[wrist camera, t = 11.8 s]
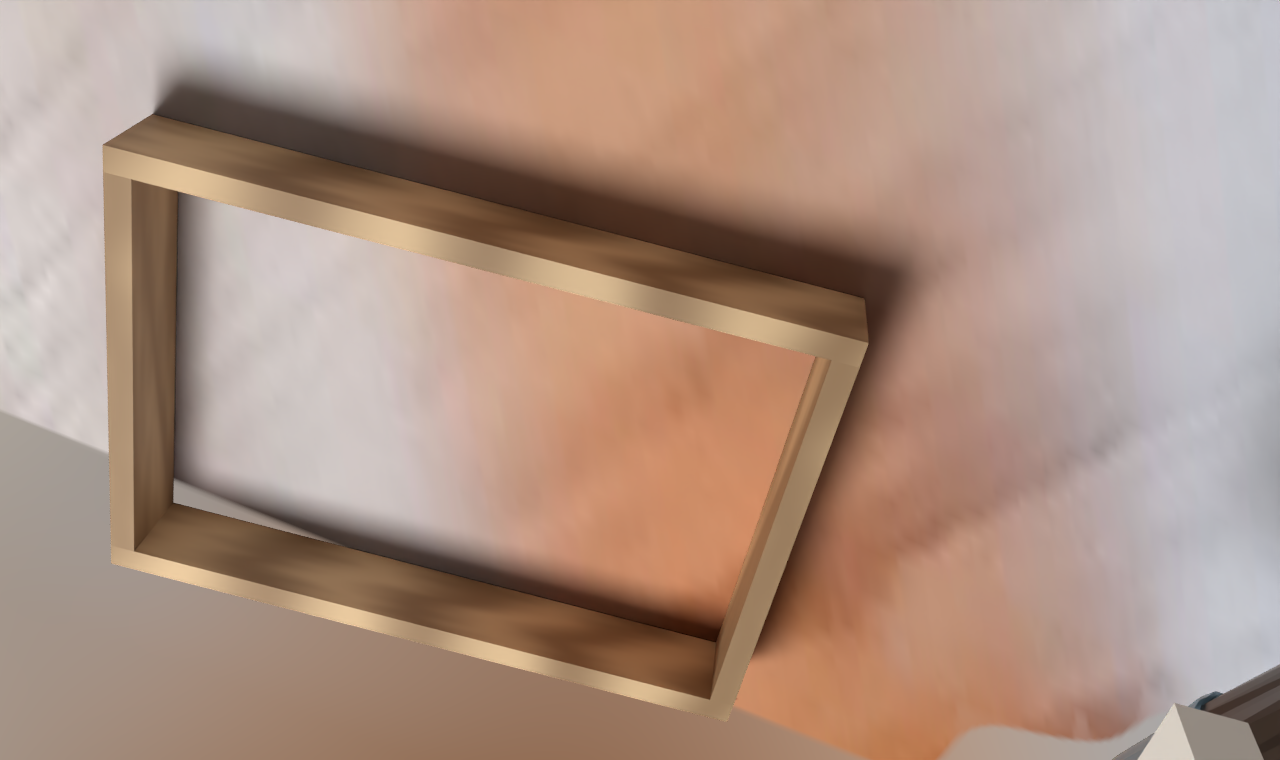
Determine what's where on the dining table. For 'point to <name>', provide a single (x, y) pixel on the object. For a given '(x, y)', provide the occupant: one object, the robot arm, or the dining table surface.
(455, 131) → the dining table surface
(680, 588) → the dining table surface
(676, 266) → the tray rim
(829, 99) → the dining table surface
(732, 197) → the dining table surface
